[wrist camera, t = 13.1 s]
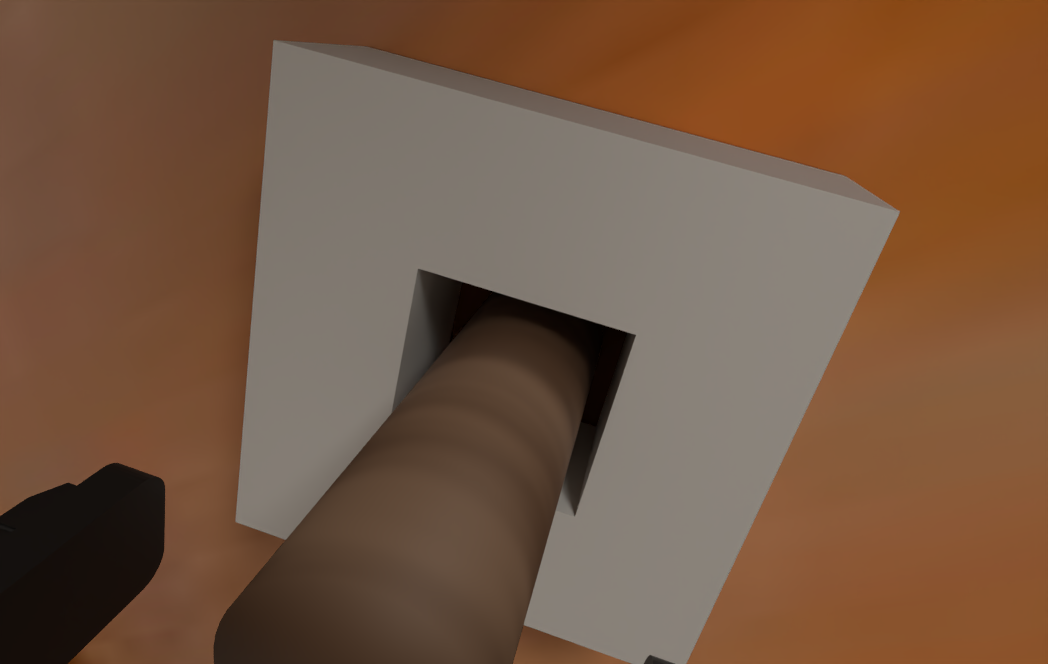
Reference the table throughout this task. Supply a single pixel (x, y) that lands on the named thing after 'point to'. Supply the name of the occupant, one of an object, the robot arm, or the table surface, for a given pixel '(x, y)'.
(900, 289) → the table surface
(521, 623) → the walnut peg
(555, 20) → the table surface
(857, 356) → the table surface
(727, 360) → the block
